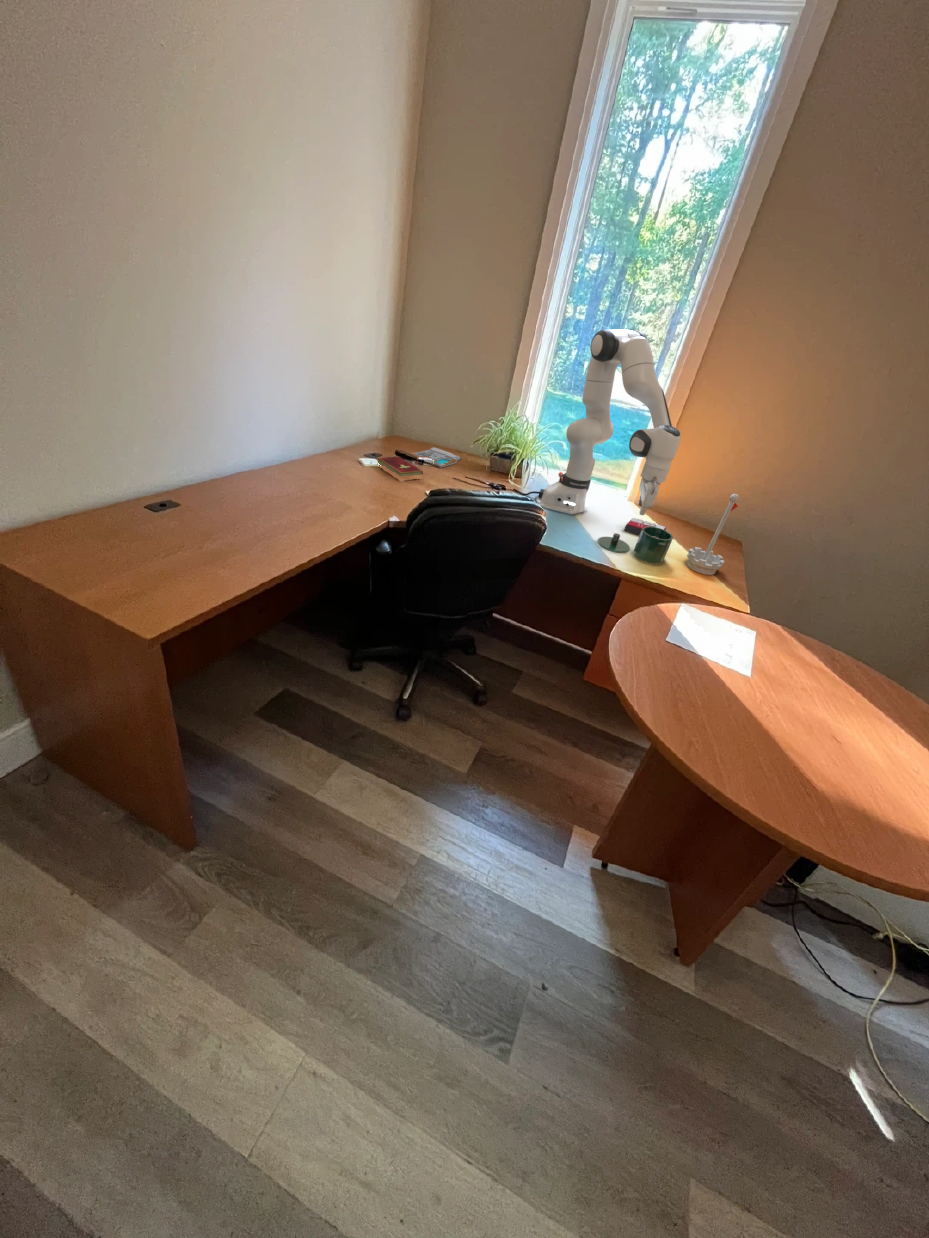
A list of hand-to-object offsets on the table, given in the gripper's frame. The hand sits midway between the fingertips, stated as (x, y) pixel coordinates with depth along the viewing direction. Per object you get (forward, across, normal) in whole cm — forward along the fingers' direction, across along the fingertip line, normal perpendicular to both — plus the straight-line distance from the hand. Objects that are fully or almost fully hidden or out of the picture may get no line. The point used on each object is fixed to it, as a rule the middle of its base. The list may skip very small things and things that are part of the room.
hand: (640, 509), depth 184 cm
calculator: (+17, +22, -9) cm, 29 cm away
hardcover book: (+18, +28, +105) cm, 110 cm away
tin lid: (+17, +1, +5) cm, 17 cm away
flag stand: (+17, 0, -29) cm, 34 cm away
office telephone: (+18, +60, +96) cm, 114 cm away
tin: (+17, -2, -9) cm, 19 cm away
